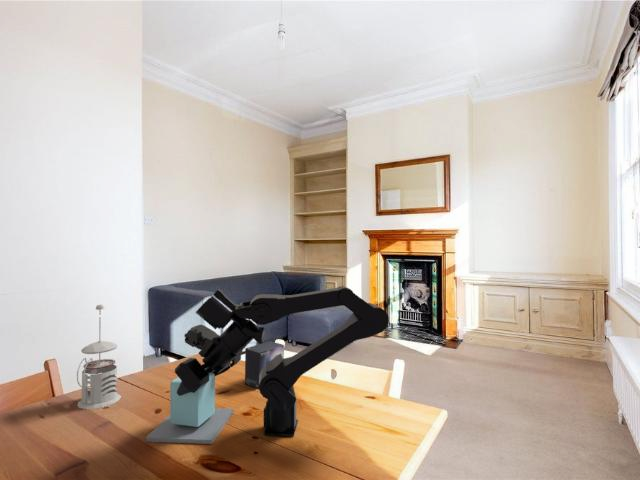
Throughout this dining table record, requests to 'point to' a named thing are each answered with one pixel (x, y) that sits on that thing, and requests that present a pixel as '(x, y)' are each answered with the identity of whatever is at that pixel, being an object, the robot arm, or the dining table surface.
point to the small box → (259, 360)
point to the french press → (98, 376)
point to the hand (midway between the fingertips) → (188, 387)
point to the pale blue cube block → (192, 403)
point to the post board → (191, 429)
